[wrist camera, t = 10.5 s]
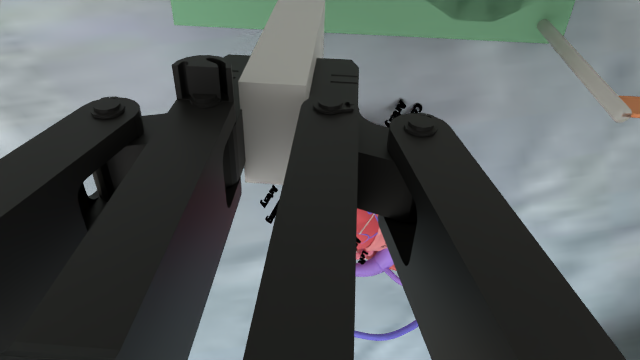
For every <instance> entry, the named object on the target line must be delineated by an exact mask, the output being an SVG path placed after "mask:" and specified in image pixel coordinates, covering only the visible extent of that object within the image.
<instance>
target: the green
mask: <svg viewBox="0 0 640 360" xmlns="http://www.w3.org/2000/svg"><path fill="white" fill-rule="evenodd" d="M277 1H278V0H171V6H172V12H173V19H174V25H185V26H205V27H225V28H245V29H264V28H265V26H266V23H267V21H268V19H269V17H270V15H271V13H272V11H273V9H274V7H275V5H276V3H277ZM574 3H575V0H325V21H324V32H325V33H346V34H366V35H386V36H406V37H426V38H446V39H466V40H487V41H507V42H527V43H547V44H550V45H551V46H552V47H553V48H554V49H555V51H556V52H557V53H558V54H559V55H560V57H561V58H562V59H563V60H564V61H565V62H566V64H567V65H568V66H569V67H570V68H571V70H572V71H573V72H574V73H575V74H576V76H577V77H578V78H579V79H580V80H581V82H582V83H583V84H584V85H585V86H586V88H587V89H588V90H589V91H590V92H591V94H592V95H593V96H594V97H595V98H596V100H597V101H598V102H599V103H600V104H601V106H602V107H603V108H604V109H605V110H606V112H607V113H608V114H609V115H610V116H611V118H612V119H613V120H614V121H615V122H618V123H621V122H625V121H626V120H628V119H629V118H630V117H632V118H640V97H634V96H618V95H617V94H616V93H615V92H614V91H613V90H612V89H611V88H610V86H609V85H608V84H607V83H606V82H605V81H604V80H603V79H602V78H601V77H600V76H599V75H598V73H597V72H596V71H595V70H594V69H593V68H592V67H591V66H590V65H589V64H588V63H587V62H586V60H585V59H584V58H583V57H582V56H581V55H580V54H579V53H578V52H577V51H576V50H575V49H574V47H573V46H572V45H571V44H570V43H569V42H568V41H567V40H566V39H565V38H564V37H563V36H564V33H565V30H566V27H567V24H568V21H569V18H570V15H571V12H572V9H573V6H574Z"/></svg>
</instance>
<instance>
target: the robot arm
mask: <svg viewBox="0 0 640 360" xmlns="http://www.w3.org/2000/svg"><path fill="white" fill-rule="evenodd" d="M324 21H325V0H278V1H277V3H276V5H275V7H274V9H273V11H272V13H271V15H270V17H269V19H268V21H267V23H266V26H265V28H264V30H263V32H262V34H261V36H260V38H259V40H258V42H257V44H256V46H255V48H254V50H253V52H252V54H251V56H246V55H227V56H225V57H224V58H222V57H218V56H211V55H198V56H192V57H186V58H184V59H181V60H178V61H176V62H175V63H174V64H172V70H173V76H174V82H175V89H176V95H177V100H176V101H175V103H174V104H173V106H172V107H171V109H170V110H169V112H168V113H165V114H157V115H147V116H141V111H140V106H139V104H138V103H136V102H135V101H134V100H131V99H128V98H118V97H110V98H109V97H104V98H101V99H100V100H96V101H92V102H90V103H88V104H86V105H84V106H82V107H80V108H79V109H77V110H76V111H74V112H73V113H71V114H70V115H68V116H66V117H65V118H63V119H62V120H60V121H59V122H57V123H56V124H54V125H52V126H51V127H49V128H48V129H46V130H45V131H43V132H42V133H40V134H38V135H37V136H35V137H34V138H32V139H31V140H29V141H28V142H26V143H24V144H23V145H21V146H20V147H18V148H17V149H15V150H14V151H12V152H10V153H9V154H7V155H6V156H4V157H3V158H1V159H0V360H188V357H189V354H190V350H191V347H192V344H193V341H194V338H195V335H196V332H197V329H198V326H199V323H200V320H201V317H202V314H203V311H204V307H205V304H206V301H207V298H208V295H209V292H210V289H211V286H212V283H213V280H214V277H215V274H216V271H217V268H218V265H219V261H220V258H221V255H222V252H223V249H224V246H225V243H226V240H227V237H228V234H229V231H230V228H231V225H232V222H233V218H234V215H235V212H236V209H237V206H238V203H239V200H240V197H241V177H240V176H241V173H242V170H243V168H244V169H245V182H248V183H263V184H279V185H283V187H282V191H281V196H280V200H279V204H278V209H277V213H276V217H275V222H274V226H273V231H272V235H271V239H270V244H269V248H268V252H267V257H266V261H265V266H264V270H263V274H262V279H261V283H260V287H259V292H258V296H257V301H256V305H255V309H254V314H253V318H252V322H251V327H250V331H249V335H248V340H247V344H246V349H245V353H244V357H243V360H354V322H355V276H356V231H357V209H361V210H364V211H367V212H371V213H374V214H377V215H378V225H379V228H380V230H381V233H382V235H383V238H384V240H385V243H386V245H387V248H388V250H389V253H390V255H391V258H392V260H393V263H394V265H395V268H396V270H397V273H398V276H399V278H400V281H401V283H402V286H403V288H404V291H405V293H406V296H407V298H408V301H409V303H410V306H411V308H412V311H413V313H414V316H415V318H416V321H417V324H418V326H419V329H420V331H421V334H422V336H423V339H424V341H425V344H426V346H427V349H428V351H429V354H430V356H431V359H432V360H626V359H625V357H624V356H623V355H622V353H621V352H620V351H619V350H618V348H617V347H616V346H615V344H614V343H613V342H612V340H611V339H610V338H609V336H608V335H607V334H606V332H605V331H604V330H603V328H602V327H601V326H600V324H599V323H598V322H597V320H596V319H595V318H594V316H593V315H592V314H591V312H590V311H589V310H588V308H587V307H586V306H585V304H584V303H583V302H582V301H581V299H580V298H579V297H578V295H577V294H576V293H575V291H574V290H573V289H572V287H571V286H570V285H569V283H568V282H567V281H566V279H565V278H564V277H563V275H562V274H561V273H560V271H559V270H558V269H557V267H556V266H555V265H554V263H553V262H552V261H551V259H550V258H549V257H548V256H547V254H546V253H545V252H544V250H543V249H542V248H541V246H540V245H539V244H538V242H537V241H536V240H535V238H534V237H533V236H532V234H531V233H530V232H529V230H528V229H527V228H526V226H525V225H524V224H523V222H522V221H521V220H520V218H519V217H518V216H517V214H516V213H515V212H514V210H513V209H512V208H511V207H510V205H509V204H508V203H507V201H506V200H505V199H504V197H503V196H502V195H501V193H500V192H499V191H498V189H497V188H496V187H495V185H494V184H493V183H492V181H491V180H490V179H489V177H488V176H487V175H486V173H485V172H484V171H483V169H482V168H481V167H480V165H479V164H478V163H477V162H476V160H475V159H474V158H473V156H472V155H471V154H470V152H469V151H468V150H467V148H466V147H465V146H464V144H463V143H462V142H461V140H460V139H459V138H458V136H457V135H456V134H455V132H454V131H453V130H452V128H451V127H450V126H449V125H448V124H447V123H445V122H444V121H443V120H441V119H439V118H436V117H434V116H432V115H429V114H427V115H426V114H424V113H418V114H414V113H410V114H404V115H400V116H398V117H396V118H394V119H393V120H392V121H391V123H390V125H389V128H388V127H384V126H380V125H377V124H374V123H372V122H370V121H368V120H366V119H365V118H363V117H362V116H361V115H360V113H359V108H358V80H359V78H358V77H359V67H358V66H357V65H356V64H355V63H354V62H353V61H352V60H343V59H325V58H323V50H324ZM91 174H93V177H94V181H95V184H96V187H97V191H96V192H95V193H93V194H92V195H91V196H89V197H88V195H87V194H86V191H85V188H84V184H83V182H84V181H85V180H86V178H88V177H89V176H90V175H91Z"/></svg>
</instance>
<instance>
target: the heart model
mask: <svg viewBox="0 0 640 360" xmlns="http://www.w3.org/2000/svg"><path fill="white" fill-rule="evenodd" d="M399 103H400V104H398V105H397V106H396V108H395V109H397V110H398V111H399V112H397V111H394V112H393V114H392V115H391V117H390V119H389V121H390V122H391V121H392V120H393V119H394V118H396V117H398V116H400V115H401V114H400V112H401V110H402V109H401V108H403V109H405V108H406V105H405V104H404V103H403V101H402V100H400V101H399ZM399 107H400V108H399ZM416 107H419V111H417V110H416ZM413 111H414V112H415V113H414V112H413ZM421 111H422V106H421V105H420V104H416V105H414V107H413V110H412V111H411V113H414V114H417V113H418V112H419V113H420V112H421ZM392 118H393V119H392ZM387 121H388V120H386V121H385V125H386V126H387V127H388V128H389V125H390V123H388V122H387ZM273 191H274V192H277V191H278V189H277V188H276V187H275V186H274V185H273V186H272V188H271V189H270V191H269V192H270V193H271V194H270V193H268V194H267V196H266V197H265V199H264V201H265V202H266V203H264V202H262V200H261V201H260V203H261V205H262V206H263V207H264V208H265V207H266V205H267V204H268V202H269V200H270V199H271V197H272V198H273V194H274V192H273ZM266 198H267V200H266ZM279 200H280V199H279ZM278 204H279V201H278V203H277V204H276V206H275V208H274V209H273V211H272V213H271V214H270V216H267V217H266V219H265V220H266V221H267V222H269V223H270V224H271V223H272V221H273V219H274V218H275V216H276V213H277V210H276V209H278ZM268 217H269V218H268ZM270 220H271V221H270ZM356 251H357V252H358V253H356V259H360V260H359V261H358V263H356V276H358V277H367V276H373V275H377V274H379V273H382V272H384V271H385V273H386V274H388V275H389V276H390V277H391V278H392V279H393V280H394V281H395V282H396V283H398V284H400V285H402V283H401V281H400V278H398V277H397V276H396V275H395V274H394V273H393V272H392V271H391V270H390V269H392V270H396V268H395V265H394V263H393V260H392V258H391V255H390V253H389V250H388V248H387V245H386V243H385V240H384V238H383V235H382V233H381V230H380V228H379V225H378V215H377V214H374V213H371V212H367V211H364V210H361V209H357V231H356ZM365 258H366V259H368V261H365V260H364V259H365ZM396 271H397V270H396ZM417 327H418V324H417V321H416V320H415V321H413V322H412V323H410V324H409V325H407V326H405V327H403V328H401V329H399V330H396V331H394V332H390V333H386V334H368V333H363V332H358V331H354V337H357V338H362V339H367V340H375V341H382V340H390V339H394V338H397V337H399V336H402V335H404V334H406V333H408V332H410V331H412V330H414V329H415V328H417Z"/></svg>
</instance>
